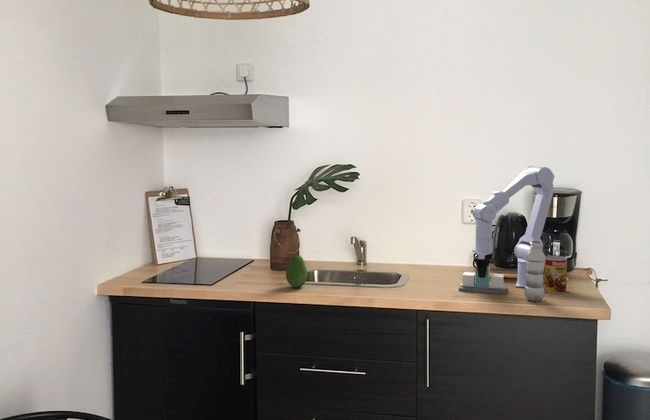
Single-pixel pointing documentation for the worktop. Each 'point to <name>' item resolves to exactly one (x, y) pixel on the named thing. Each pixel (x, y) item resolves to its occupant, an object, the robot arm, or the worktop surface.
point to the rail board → (495, 287)
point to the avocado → (296, 272)
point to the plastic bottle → (535, 272)
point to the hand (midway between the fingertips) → (483, 275)
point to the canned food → (555, 274)
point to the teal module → (483, 281)
